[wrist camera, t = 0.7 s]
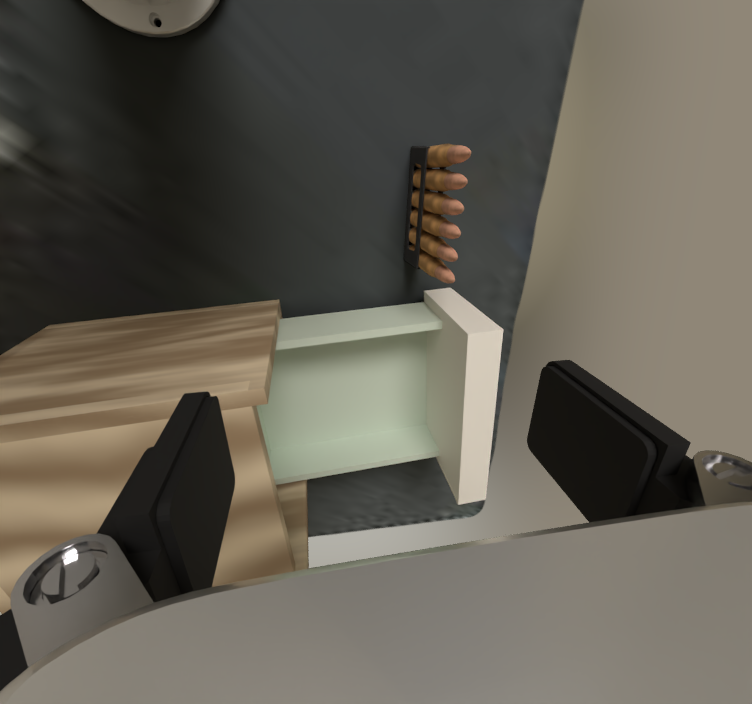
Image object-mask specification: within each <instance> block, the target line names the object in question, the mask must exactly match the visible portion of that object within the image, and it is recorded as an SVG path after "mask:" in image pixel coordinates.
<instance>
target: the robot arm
mask: <svg viewBox="0 0 752 704" xmlns="http://www.w3.org/2000/svg"><path fill="white" fill-rule="evenodd" d="M82 1H84V2H85V3H86V4H87V5H88V6H90V7H91V8H92V9H93V10H95V11H96V12H97V13H99V14H100V15H102V16H103V17H105V18H106V19H108V20H109V21H110V22H112V23H113V24H115V25H117V26H120V27H122V28H124V29H126V30H128V31H130V32H133V33H137V34H141V35H145V36H149V37H166V38H167V37H172V36H177V35H182V34H184V33H186V32H188V31H191V30H193V29H195V28H197V27H198V26H199V25H200V24H201V23H202V22H204V21H205V20H206V19H207V18H208V17H209V16H210V15H211V13H212V12H213V10H214V9H215V8H216V6H217V5H218V3H219V1H220V0H82ZM157 20H160V21H161V22H162V25H161V26H160V27H157V26H156V21H157ZM527 443H528V447H529V449H530V451H531V452H532V453H533V455H534V456H535V457H536V458H537V459H538V461H539V462H540V463H541V464H542V465H543V467H544V468H545V469H546V470H547V472H548V473H549V474H550V475H551V476H552V477H553V479H554V480H555V481H556V482H557V484H558V485H559V486H560V487H561V489H562V490H563V491H564V492H565V493H566V494H567V496H568V497H569V498H570V499H571V501H572V502H573V503H574V504H575V505H576V507H577V508H578V509H579V510H580V512H581V513H582V514H583V515H584V516H585V518H586V519H587V520H588V521H589V523H584V524H578V525H571V526H565V527H558V528H552V529H546V530H540V531H533V532H527V533H521V534H515V535H509V536H503V537H496V538H490V539H483V540H477V541H471V542H465V543H459V544H453V545H447V546H440V547H435V548H428V549H422V550H416V551H411V552H404V553H398V554H392V555H387V556H381V557H374V558H368V559H362V560H356V561H350V562H345V563H338V564H333V565H327V566H320V567H315V568H309V569H303V570H298V571H293V572H287V573H282V574H276V575H271V576H265V577H260V578H255V579H249V580H244V581H238V582H233V583H228V584H224V585H219V586H215V587H212V584H213V580H214V575H215V571H216V567H217V562H218V558H219V554H220V549H221V545H222V541H223V536H224V532H225V527H226V523H227V519H228V514H229V510H230V506H231V501H232V497H233V493H234V488H235V473H234V468H233V464H232V459H231V455H230V450H229V445H228V441H227V436H226V432H225V427H224V422H223V418H222V413H221V409H220V404H219V400H218V397H217V396H211V395H210V393H209V392H208V391H206V392H195V393H185V394H184V395H183V396H182V398H181V399H180V401H179V403H178V405H177V406H176V408H175V410H174V412H173V414H172V415H171V417H170V419H169V421H168V422H167V424H166V426H165V428H164V429H163V431H162V433H161V435H160V437H159V438H158V440H157V442H156V444H155V445H154V447H150V448H148V449H147V450H146V451H145V452H144V454H143V455H142V457H141V459H140V460H139V462H138V464H137V465H136V467H135V469H134V471H133V472H132V474H131V476H130V477H129V479H128V481H127V482H126V484H125V486H124V488H123V489H122V491H121V493H120V494H119V496H118V498H117V499H116V501H115V503H114V505H113V506H112V508H111V510H110V511H109V513H108V515H107V516H106V518H105V520H104V522H103V523H102V525H101V527H100V528H99V530H98V532H97V533H96V534H87V535H83V536H80V537H76V538H73V539H70V540H68V541H66V542H64V543H62V544H59V545H57V546H55V547H54V548H52V549H51V550H49V551H48V552H46V553H45V554H43V555H42V556H40V557H39V558H38V559H37V560H36V561H35V562H33V563H32V564H31V565H30V566H29V567H28V568H27V569H26V570H25V571H24V573H23V574H22V575H21V576H20V577H19V579H18V580H17V581H16V584H15V586H14V588H13V590H12V592H11V602H10V605H11V609H9V610H8V611H6V612H5V613H3V614H2V615H0V704H752V462H750V461H747V460H745V459H743V458H741V457H738V456H735V455H732V454H729V453H725V452H719V451H709V450H706V451H700V452H698V453H696V454H695V455H694V457H693V459H690V458H689V457H688V456H686V452H687V450H688V448H689V445H690V442H689V441H687V440H686V439H685V438H683V437H682V436H680V435H679V434H677V433H676V432H674V431H673V430H671V429H670V428H668V427H667V426H666V425H664V424H663V423H661V422H660V421H658V420H657V419H655V418H654V417H653V416H651V415H650V414H648V413H646V412H645V411H644V410H642V409H641V408H639V407H638V406H636V405H635V404H634V403H632V402H631V401H629V400H628V399H626V398H625V397H623V396H622V395H621V394H619V393H618V392H616V391H615V390H613V389H612V388H610V387H609V386H607V385H606V384H605V383H603V382H602V381H600V380H599V379H597V378H596V377H594V376H593V375H591V374H590V373H588V372H587V371H586V370H584V369H583V368H581V367H580V366H578V365H577V364H575V363H574V362H572V361H570V360H562V361H552V362H549V363H548V364H547V365H546V367H544V368H543V369H542V371H541V376H540V380H539V385H538V389H537V394H536V399H535V404H534V409H533V413H532V418H531V423H530V428H529V433H528V438H527Z"/></svg>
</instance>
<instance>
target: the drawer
mask: <svg viewBox="0 0 752 704" xmlns="http://www.w3.org/2000/svg"><path fill="white" fill-rule="evenodd" d="M502 338H503V329H502V328H501V327H500V326H498V325H497V324H496V323H494V322H493V321H492V320H491V319H489V318H488V317H487V316H486V315H484V314H483V313H482V312H481V311H479V310H478V309H477V308H475V307H474V306H473V305H472V304H470V303H469V302H468V301H467V300H465V299H464V298H463V297H462V296H460V295H459V294H458V293H456V292H455V291H454V290H453V289H451V288H444V289H435V290H427V291H424V302H420V303H411V304H403V305H394V306H386V307H378V308H369V309H361V310H352V311H344V312H335V313H327V314H318V315H310V316H302V317H293V318H285V319H280V321H279V328H278V335H277V343H276V350H275V357H274V364H273V371H272V378H271V385H270V392H269V399H268V404H264V405H257V406H256V407H257V411H258V415H259V419H260V423H261V427H262V431H263V435H264V439H265V443H266V447H267V451H268V455H269V459H270V463H271V468H272V472H273V476H274V480H275V484H276V485H278V484H284V483H290V482H295V481H301V480H307V479H312V478H318V477H324V476H329V475H335V474H341V473H346V472H352V471H358V470H363V469H369V468H375V467H380V466H386V465H392V464H397V463H403V462H409V461H414V460H420V459H425V458H431V457H436V458H437V461H438V463H439V465H440V467H441V469H442V471H443V473H444V475H445V478H446V480H447V482H448V484H449V486H450V488H451V490H452V492H453V495H454V497H455V499H456V501H457V503H458V505H459V504H465V503H470V502H475V501H480V500H485V499H486V492H487V483H488V473H489V463H490V454H491V444H492V434H493V425H494V415H495V405H496V396H497V386H498V376H499V367H500V357H501V347H502Z"/></svg>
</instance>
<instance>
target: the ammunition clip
mask: <svg viewBox="0 0 752 704" xmlns="http://www.w3.org/2000/svg"><path fill="white" fill-rule="evenodd" d="M470 155H471V151H470V149H468V148H467V147H465V146H461V145H451V144H442V145H436V146H430V147H428V146H412V147H411V153H410V168H409V184H408V199H407V214H406V230H405V245H404V260H405V261H406V262H408V263H409V264H411V265H412V266H413V267H415V268H416V269H420V268H421V269H422V270H423V271H425V272H426V273H427V274H429V275H430V276H432V277H436V278H437V279H439V280H441V281H442V282H445V283H453V282H454V281H455V277H454V275H453V273H452V272H451V270H450V269H449V268H447V267H446V266H445V265H444V263H443V262H442V261H441V260H440V259H438V258H441V259H443V260H446V261H456V260H457V259H458V255H457V253H456V251H455V250H454V249H453V248H452V247H450V246H449V245H448V244H446V243H445V241H444V240H443V239H441V238H439V236H442V237H445V238H450V239H454V238H458V237H459V236H460V235H461V232H460V230H459V228H458V227H457V226H456V225H454V224H453V223H451V222H449V221H448V220H447V219H446V218H444V217H442V216H441V215H443V214H447V215H448V214H449V215H457V214H460V213H462V212H463V211H464V206H463V205H462V203H460V202H459V201H458V200H456V199H453V198H450V197H449V196H447V195H446V194H443V191H448V190H457V189H461V188H463V187H464V186H466V184H467V179H466V177H464V176H463V175H462V174H459V173H454V172H451V171H449V170H446V167H449V166H451V165H452V164H456V163H461V162H464V161H465V160H467V159H468V158H469V157H470ZM433 167H440V169H432V168H433ZM430 190H435V191H438V193H436V192H431V191H430ZM428 211H429V212H428ZM431 212H432V213H431ZM434 213H435V214H434ZM437 257H438V258H437Z"/></svg>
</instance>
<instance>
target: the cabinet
mask: <svg viewBox="0 0 752 704" xmlns="http://www.w3.org/2000/svg"><path fill="white" fill-rule="evenodd" d="M280 319H283V318H282V313H281V307H280V302H279V299H278V300H269V301H260V302H251V303H242V304H233V305H224V306H215V307H207V308H198V309H189V310H180V311H171V312H162V313H153V314H144V315H135V316H126V317H117V318H108V319H99V320H90V321H81V322H72V323H63V324H54V325H49V326H47V327H46V328H44V329H42V330H41V331H39V332H37V333H36V334H34V335H33V336H31V337H29V338H28V339H26V340H24V341H23V342H21V343H20V344H18V345H16V346H15V347H13V348H12V349H10V350H8V351H7V352H5V353H3V354H2V355H0V612H1V613H2V614H3V613H5V612H6V611H8V610H9V609H11V605H10V602H11V592H12V590H13V588H14V586H15V584H16V581H17V580H18V579H19V577H20V576H21V575H22V574H23V573H24V571H25V570H26V569H27V568H28V567H29V566H30V565H31V564H32V563H33V562H35V561H36V560H37V559H38V558H39V557H40V556H42V555H43V554H45V553H46V552H48V551H49V550H51V549H52V548H54V547H55V546H57V545H59V544H62V543H64V542H66V541H68V540H70V539H73V538H76V537H80V536H83V535H87V534H96V533H97V532H98V530H99V528H100V527H101V525H102V523H103V522H104V520H105V518H106V516H107V515H108V513H109V511H110V510H111V508H112V506H113V505H114V503H115V501H116V499H117V498H118V496H119V494H120V493H121V491H122V489H123V488H124V486H125V484H126V482H127V481H128V479H129V477H130V476H131V474H132V472H133V471H134V469H135V467H136V465H137V464H138V462H139V460H140V459H141V457H142V455H143V454H144V452H145V451H146V450H147V449H148V448H150V447H154V445H155V444H156V442H157V440H158V438H159V437H160V435H161V433H162V431H163V429H164V428H165V426H166V424H167V422H168V421H169V419H170V417H171V415H172V414H173V412H174V410H175V408H176V406H177V405H178V403H179V401H180V399H181V398H182V396H183V395H184V394H185V393H195V392H206V391H208V392H209V393H210V395H211V396H217V397H218V400H219V404H220V409H221V413H222V418H223V422H224V427H225V432H226V436H227V441H228V445H229V450H230V455H231V459H232V464H233V468H234V473H235V488H234V493H233V497H232V501H231V506H230V510H229V514H228V519H227V523H226V527H225V532H224V536H223V541H222V545H221V549H220V554H219V558H218V562H217V567H216V571H215V575H214V580H213V584H212V587H215V586H219V585H224V584H228V583H233V582H238V581H244V580H249V579H255V578H260V577H265V576H271V575H276V574H282V573H287V572H293V571H298V570H303V569H309V568H308V567H309V563H308V511H307V480H301V481H295V482H290V483H284V484H278V485H276V484H275V480H274V476H273V472H272V468H271V463H270V459H269V455H268V451H267V447H266V443H265V439H264V435H263V431H262V427H261V423H260V419H259V415H258V411H257V407H256V406H257V405H264V404H268V399H269V392H270V385H271V378H272V371H273V364H274V357H275V350H276V343H277V335H278V328H279V321H280Z"/></svg>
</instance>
